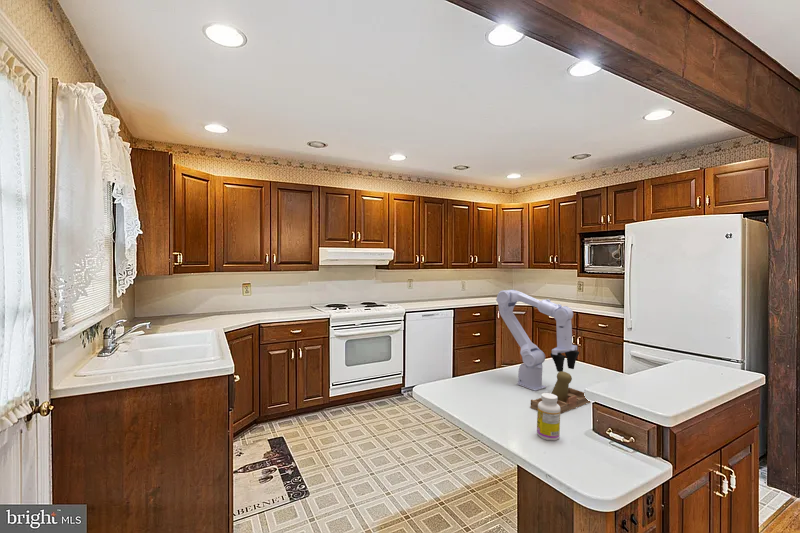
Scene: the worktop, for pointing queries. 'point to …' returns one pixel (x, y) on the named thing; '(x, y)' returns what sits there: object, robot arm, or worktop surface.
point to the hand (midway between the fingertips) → (565, 370)
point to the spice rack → (573, 401)
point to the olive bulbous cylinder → (562, 386)
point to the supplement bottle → (548, 417)
